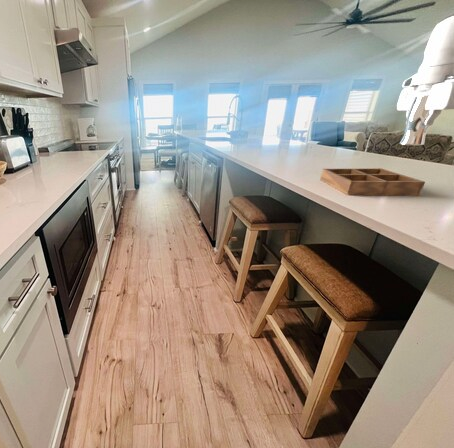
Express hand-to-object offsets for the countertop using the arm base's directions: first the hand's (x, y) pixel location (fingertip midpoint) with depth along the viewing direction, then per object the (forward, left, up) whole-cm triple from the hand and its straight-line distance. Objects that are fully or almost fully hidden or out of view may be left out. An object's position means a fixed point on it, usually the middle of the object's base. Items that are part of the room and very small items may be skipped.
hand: (417, 125), depth 81 cm
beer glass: (0, 0, -6) cm, 6 cm away
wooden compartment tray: (+16, +10, -19) cm, 27 cm away
